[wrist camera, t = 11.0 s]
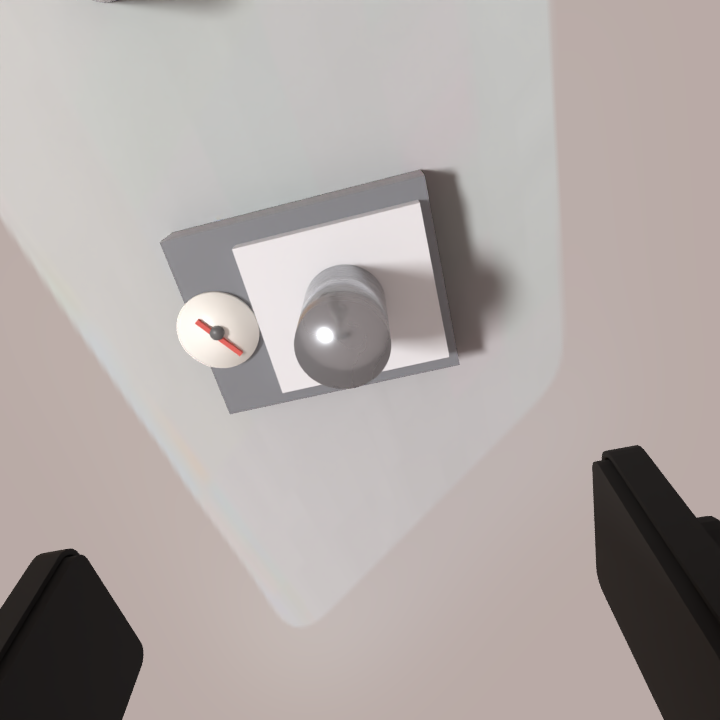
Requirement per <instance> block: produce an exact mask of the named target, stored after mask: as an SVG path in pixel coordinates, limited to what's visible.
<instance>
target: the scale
mask: <svg viewBox="0 0 720 720" xmlns="http://www.w3.org/2000/svg"><path fill="white" fill-rule="evenodd" d="M160 244H161V247H162V249H163V252H164V254H165V257H166V259H167V261H168V264H169V266H170V269H171V271H172V274H173V276H174V279H175V281H176V283H177V286H178V288H179V291H180V293H181V296H182V298H183V301H184V303H185V305H184V306H183V308H182V309H181V311H180V313H179V315H178V319H177V334H178V338H179V341H180V343H181V345H182V346H183V348H184V349H185V351H186V352H187V353H188V354H189V355H190V356H191V357H192V358H194V359H195V360H197V361H198V362H200V363H202V364H204V365H207V366H210V367H211V369H212V372H213V374H214V376H215V379H216V381H217V384H218V386H219V389H220V391H221V394H222V396H223V398H224V401H225V403H226V406H227V408H228V411H229V413H230V414H233V413H238V412H242V411H247V410H252V409H256V408H261V407H266V406H270V405H275V404H279V403H284V402H289V401H293V400H298V399H303V398H307V397H312V396H317V395H321V394H326V393H331V392H335V391H340V390H345V389H336V388H331V387H327V386H324V385H322V384H320V383H318V382H316V381H314V380H313V379H312V378H310V377H309V376H308V375H307V374H306V373H305V372H304V371H303V369H302V368H301V366H300V365H299V363H298V361H297V358H296V355H295V351H294V338H295V333H296V329H297V325H298V321H299V317H300V313H301V310H302V306H303V302H304V298H305V294H306V291H307V288H308V286H309V284H310V283H311V281H312V280H313V278H314V277H315V276H316V275H317V274H319V273H320V272H321V271H323V270H325V269H327V268H329V267H332V266H335V265H343V264H347V265H354V266H358V267H361V268H363V269H365V270H367V271H368V272H370V273H371V274H372V275H373V276H375V278H376V279H377V280H378V281H379V283H380V284H381V286H382V288H383V290H384V294H385V299H386V306H387V314H388V321H389V329H390V337H391V353H390V357H389V360H388V362H387V364H386V366H385V368H384V369H383V370H382V372H381V373H380V374H379V375H378V376H377V377H376V378H374V379H373V380H372V381H370V382H368V383H367V384H364V385H368V384H372V383H377V382H382V381H386V380H391V379H396V378H400V377H405V376H410V375H414V374H419V373H424V372H428V371H433V370H438V369H442V368H447V367H451V366H456V365H460V364H459V359H458V354H457V348H456V343H455V337H454V332H453V326H452V321H451V316H450V310H449V305H448V299H447V294H446V289H445V283H444V278H443V272H442V267H441V261H440V256H439V251H438V245H437V240H436V234H435V229H434V223H433V218H432V213H431V207H430V202H429V196H428V191H427V185H426V180H425V175H424V174H423V172H422V171H421V170H417V171H413V172H409V173H405V174H401V175H397V176H393V177H389V178H385V179H381V180H377V181H373V182H369V183H365V184H362V185H358V186H354V187H350V188H346V189H342V190H338V191H334V192H330V193H326V194H322V195H318V196H314V197H310V198H306V199H303V200H299V201H295V202H291V203H287V204H283V205H279V206H275V207H271V208H267V209H263V210H259V211H255V212H251V213H247V214H244V215H240V216H236V217H232V218H228V219H224V220H220V221H216V222H212V223H208V224H204V225H200V226H196V227H192V228H188V229H185V230H181V231H177V232H173V233H171V234H170V235H169V236H167V237H166V238H165V239H163V240H162V241H161V242H160ZM362 386H363V385H362Z"/></svg>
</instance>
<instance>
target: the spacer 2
mask: <svg viewBox="0 0 720 720" xmlns="http://www.w3.org/2000/svg"><path fill="white" fill-rule="evenodd" d="M294 351H295V355H296V358H297V361H298V363H299V365H300V366H301V368H302V369H303V371H304V372H305V373H306V374H307V375H308V376H309V377H310V378H312V379H313V380H314V381H316V382H318V383H320V384H322V385H324V386H327V387H331V388H336V389H350V388H356V387H359V386H362V385H364V384H367V383H368V382H370V381H372V380H373V379H374V378H376V377H377V376H378V375H379V374H380V373H381V372H382V370H383V369H384V368H385V366H386V364H387V362H388V360H389V357H390V353H391V337H390V329H389V321H388V314H387V306H386V299H385V294H384V290H383V288H382V286H381V284H380V283H379V281H378V280H377V279H376V278H375V276H373V275H372V274H371V273H370V272H368V271H367V270H365V269H363V268H361V267H358V266H354V265H347V264H343V265H335V266H332V267H329V268H327V269H325V270H323V271H321V272H320V273H319V274H317V275H316V276H315V277H314V278H313V280H312V281H311V283H310V284H309V286H308V288H307V291H306V294H305V298H304V302H303V306H302V310H301V313H300V317H299V321H298V325H297V329H296V333H295V338H294Z"/></svg>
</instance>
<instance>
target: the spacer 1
mask: <svg viewBox="0 0 720 720" xmlns="http://www.w3.org/2000/svg"><path fill="white" fill-rule="evenodd" d="M93 1H97V2H105V3H106V2H114V1H118V0H93Z"/></svg>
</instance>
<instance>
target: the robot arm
mask: <svg viewBox="0 0 720 720" xmlns="http://www.w3.org/2000/svg"><path fill="white" fill-rule="evenodd" d="M592 471H593V496H594V521H595V546H596V569H597V575H598V579H599V583H600V586H601V589H602V591H603V593H604V595H605V597H606V600H607V601H608V604H609V606H610V608H611V610H612V612H613V614H614V616H615V618H616V620H617V622H618V625H619V627H620V629H621V631H622V633H623V635H624V637H625V639H626V641H627V643H628V645H629V648H630V650H631V652H632V654H633V656H634V658H635V660H636V662H637V664H638V666H639V669H640V670H641V673H642V675H643V677H644V679H645V681H646V683H647V685H648V687H649V689H650V692H651V694H652V696H653V698H654V700H655V702H656V704H657V706H658V708H659V710H660V712H661V715H662V717H663V719H664V720H720V521H719V520H718V519H716V518H714V517H712V516H705V517H699V518H696V517H695V515H694V514H693V513H692V512H691V510H690V509H689V508H688V506H687V505H686V504H685V502H684V501H683V500H682V499H681V497H680V496H679V495H678V494H677V492H676V491H675V490H674V488H673V487H672V486H671V484H670V483H669V482H668V480H667V479H666V478H665V477H664V475H663V474H662V473H661V471H660V470H659V469H658V467H657V466H656V465H655V464H654V462H653V461H652V459H651V458H650V457H649V456H648V454H647V453H646V452H645V451H644V449H643V448H642V447H641V446H638V445H636V446H630V447H625V448H619V449H614V450H608V451H604V452H603V454H602V461H597V462H593V466H592ZM142 662H143V647H142V644H141V642H140V640H139V639H138V637H137V636H136V634H135V632H134V631H133V629H132V628H131V626H130V625H129V623H128V622H127V620H126V618H125V617H124V615H123V614H122V612H121V611H120V609H119V607H118V606H117V604H116V603H115V601H114V600H113V598H112V597H111V595H110V594H109V592H108V590H107V589H106V587H105V586H104V584H103V582H102V581H101V579H100V578H99V576H98V575H97V573H96V571H95V570H94V568H93V567H92V565H91V564H90V562H89V561H88V559H87V558H86V557H85V556H83V555H80V554H79V553H78V552H77V551H76V550H74V549H65V550H59V551H53V552H48V553H43V554H40V555H38V556H36V557H35V558H34V559H33V561H32V562H31V563H30V565H29V566H28V568H27V570H26V571H25V572H24V574H23V575H22V577H21V579H20V580H19V582H18V583H17V585H16V586H15V588H14V589H13V591H12V592H11V594H10V595H9V597H8V598H7V600H6V601H5V603H4V604H3V606H2V607H1V609H0V720H122V718H123V716H124V713H125V710H126V707H127V705H128V702H129V699H130V696H131V693H132V691H133V688H134V685H135V682H136V680H137V677H138V674H139V671H140V668H141V666H142Z"/></svg>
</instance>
